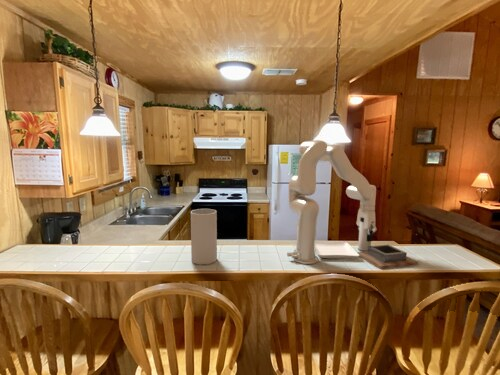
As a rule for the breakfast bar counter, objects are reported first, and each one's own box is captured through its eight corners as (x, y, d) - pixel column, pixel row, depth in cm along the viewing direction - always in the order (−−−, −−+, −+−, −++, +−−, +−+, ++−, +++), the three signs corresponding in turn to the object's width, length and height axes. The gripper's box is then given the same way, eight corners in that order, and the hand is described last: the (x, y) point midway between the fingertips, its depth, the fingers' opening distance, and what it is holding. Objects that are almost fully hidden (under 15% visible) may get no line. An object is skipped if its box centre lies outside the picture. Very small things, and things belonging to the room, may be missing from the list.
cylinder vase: (203, 253, 145) (202, 207, 142) (221, 258, 139) (221, 210, 135) (186, 261, 134) (185, 212, 131) (205, 267, 128) (205, 215, 125)
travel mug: (372, 252, 149) (375, 216, 146) (360, 252, 149) (363, 216, 147) (368, 248, 155) (370, 214, 153) (356, 248, 155) (358, 214, 153)
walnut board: (380, 269, 128) (380, 266, 128) (356, 255, 145) (356, 252, 145) (418, 264, 134) (418, 261, 133) (390, 251, 151) (390, 249, 151)
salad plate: (360, 261, 138) (360, 255, 137) (318, 260, 138) (318, 254, 138) (346, 246, 159) (346, 241, 158) (309, 246, 159) (310, 240, 159)
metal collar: (384, 262, 132) (385, 255, 131) (367, 253, 144) (367, 246, 143) (405, 260, 135) (406, 252, 134) (387, 251, 147) (387, 244, 146)
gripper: (351, 204, 156) (349, 235, 159) (372, 211, 140) (370, 244, 142) (362, 204, 158) (360, 234, 161) (384, 210, 142) (382, 243, 144)
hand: (365, 238), depth 151 cm, fingers closed on travel mug, 6 cm apart
